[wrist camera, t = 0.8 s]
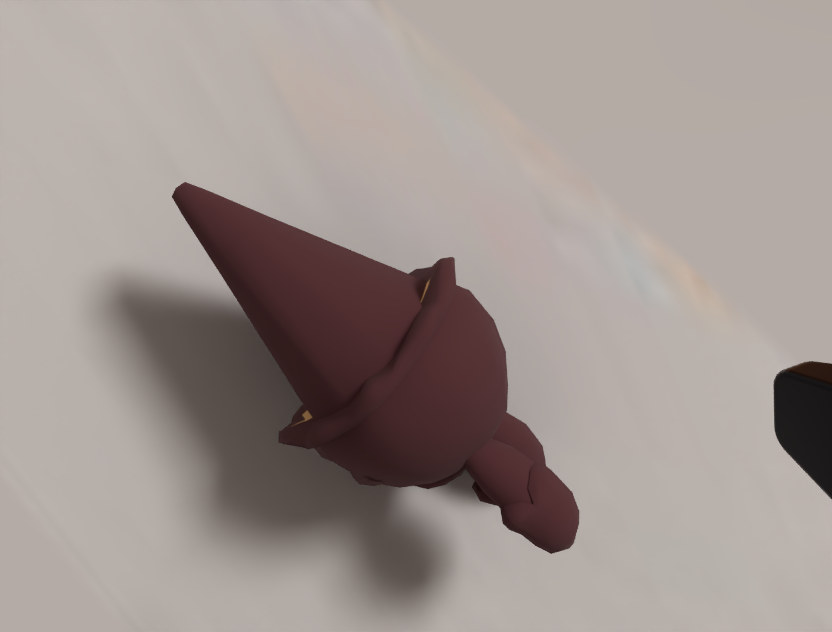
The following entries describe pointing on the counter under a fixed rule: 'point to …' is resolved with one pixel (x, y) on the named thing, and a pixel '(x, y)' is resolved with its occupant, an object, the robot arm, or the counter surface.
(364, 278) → the maroon bulbous piece
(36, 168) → the counter surface
